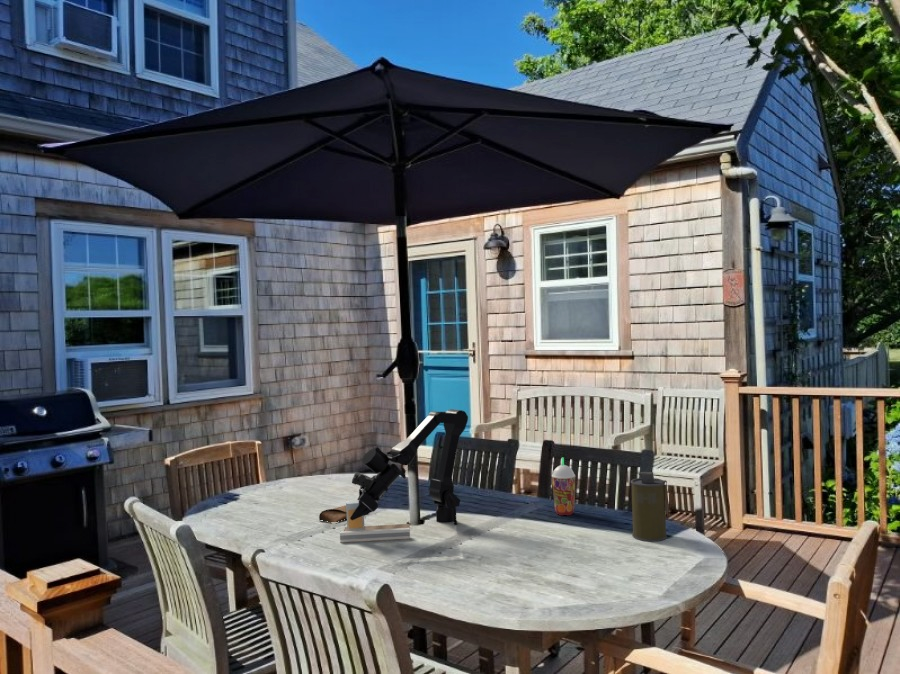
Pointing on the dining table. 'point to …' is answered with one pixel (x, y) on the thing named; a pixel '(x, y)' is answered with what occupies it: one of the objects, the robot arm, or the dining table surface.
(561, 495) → the smoothie
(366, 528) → the shelf board
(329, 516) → the sunglasses case
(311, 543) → the dining table surface
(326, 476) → the dining table surface
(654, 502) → the canister
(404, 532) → the rail
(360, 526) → the carton
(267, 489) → the dining table surface
